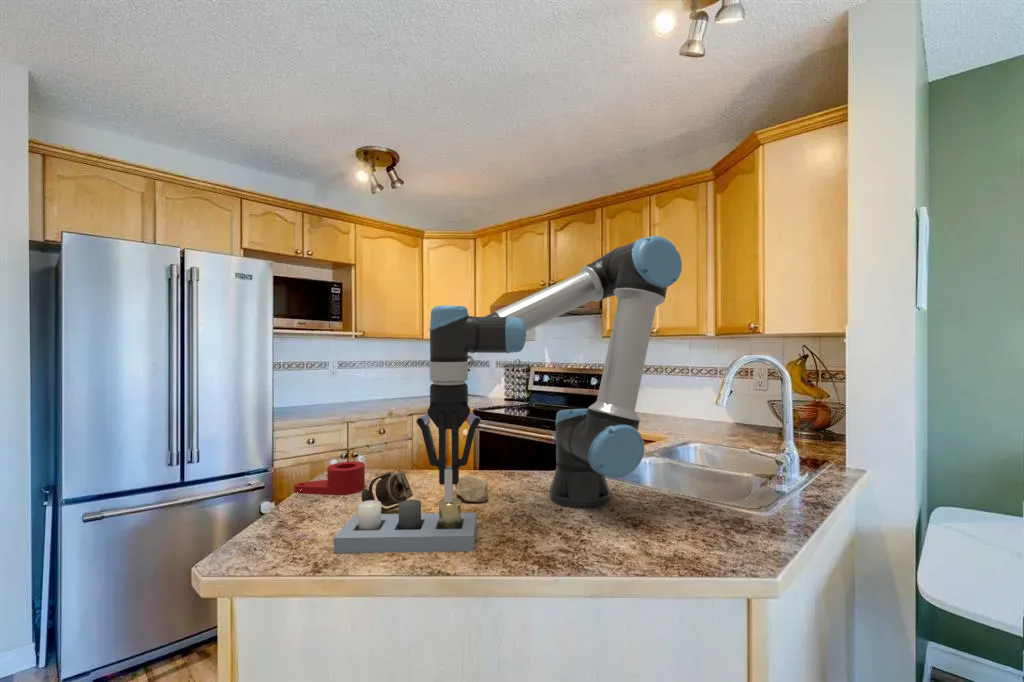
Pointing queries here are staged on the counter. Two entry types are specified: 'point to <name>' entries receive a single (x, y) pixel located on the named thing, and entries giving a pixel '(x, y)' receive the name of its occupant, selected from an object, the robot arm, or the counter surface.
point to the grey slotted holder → (407, 536)
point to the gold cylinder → (450, 514)
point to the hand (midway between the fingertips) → (449, 500)
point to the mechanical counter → (389, 490)
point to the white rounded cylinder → (369, 515)
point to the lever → (337, 480)
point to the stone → (472, 489)
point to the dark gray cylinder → (410, 515)
